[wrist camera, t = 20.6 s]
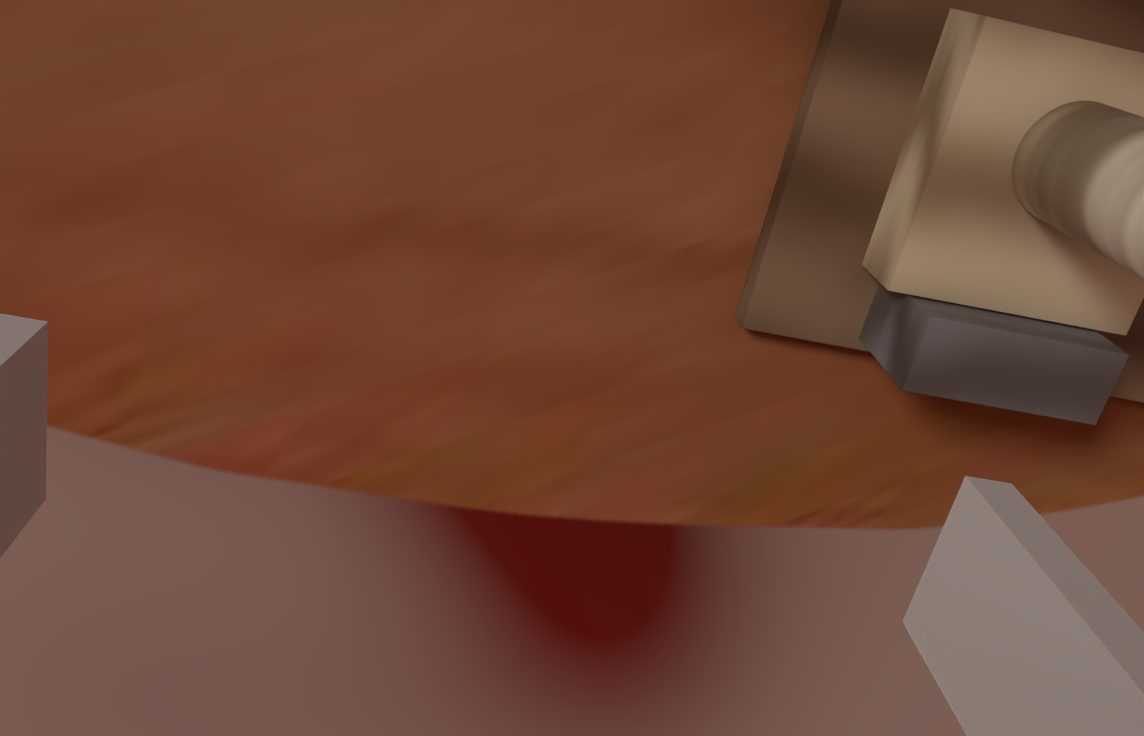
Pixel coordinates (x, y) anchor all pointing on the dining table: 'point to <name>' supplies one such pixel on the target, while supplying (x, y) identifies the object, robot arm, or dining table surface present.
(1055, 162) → the dowel
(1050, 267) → the thin beige square tile
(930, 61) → the board
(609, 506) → the dining table surface
